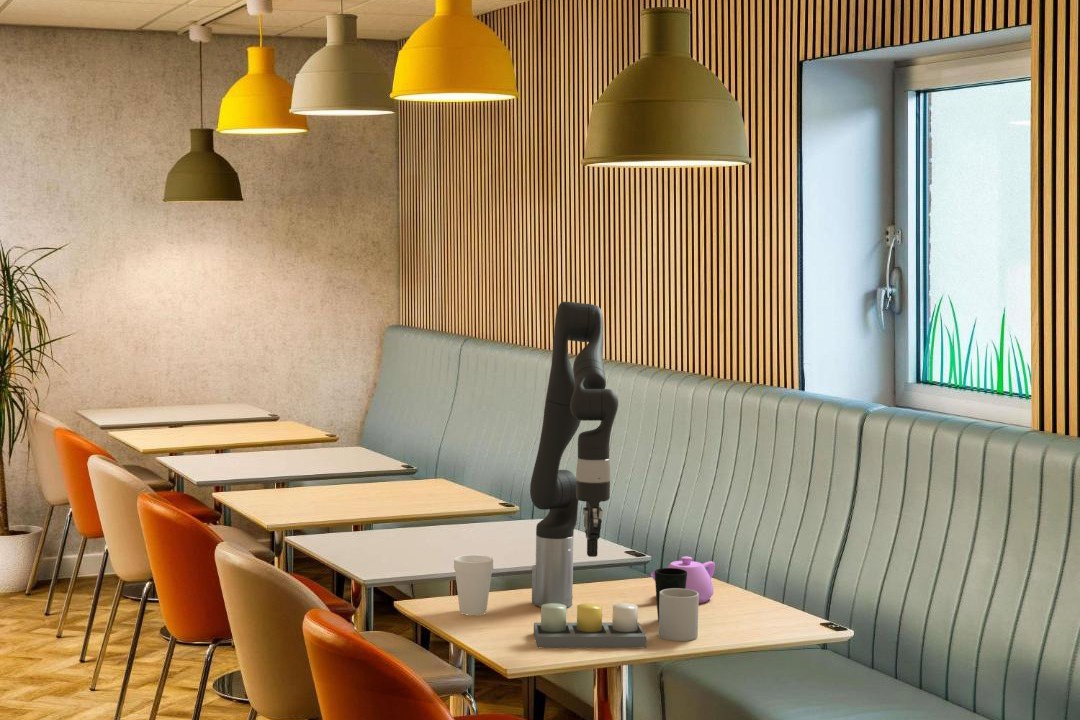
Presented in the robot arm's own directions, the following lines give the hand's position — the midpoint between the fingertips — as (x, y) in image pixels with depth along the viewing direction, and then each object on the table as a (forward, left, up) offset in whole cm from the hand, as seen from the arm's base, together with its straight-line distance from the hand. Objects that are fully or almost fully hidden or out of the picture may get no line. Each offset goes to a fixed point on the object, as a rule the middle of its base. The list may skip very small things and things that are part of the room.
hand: (592, 555), depth 304 cm
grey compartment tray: (0, 0, -19) cm, 19 cm away
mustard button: (0, 0, -16) cm, 16 cm away
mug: (+16, +15, -19) cm, 29 cm away
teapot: (+3, +48, -19) cm, 52 cm away
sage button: (-7, -4, -16) cm, 18 cm away
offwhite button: (+6, +4, -16) cm, 18 cm away
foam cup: (-35, +8, -19) cm, 41 cm away
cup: (+9, +25, -19) cm, 33 cm away
